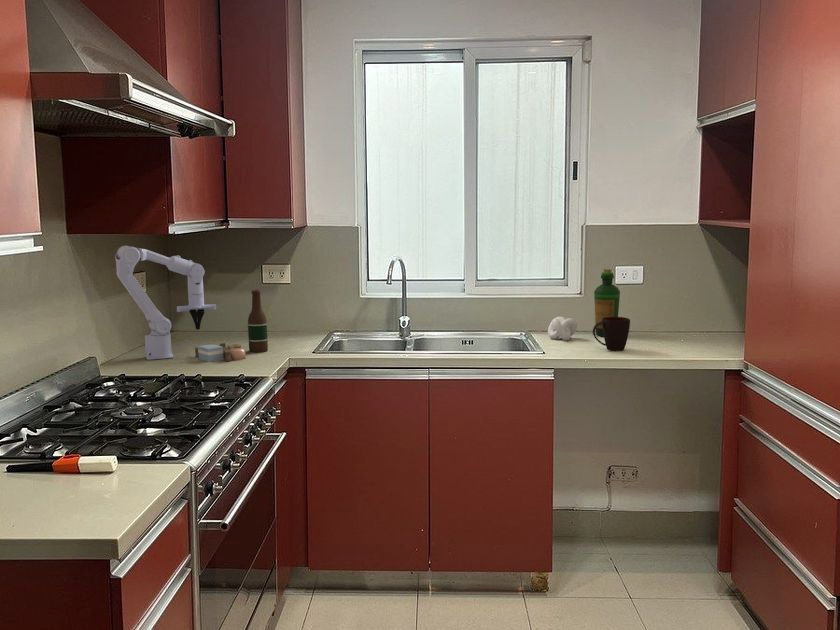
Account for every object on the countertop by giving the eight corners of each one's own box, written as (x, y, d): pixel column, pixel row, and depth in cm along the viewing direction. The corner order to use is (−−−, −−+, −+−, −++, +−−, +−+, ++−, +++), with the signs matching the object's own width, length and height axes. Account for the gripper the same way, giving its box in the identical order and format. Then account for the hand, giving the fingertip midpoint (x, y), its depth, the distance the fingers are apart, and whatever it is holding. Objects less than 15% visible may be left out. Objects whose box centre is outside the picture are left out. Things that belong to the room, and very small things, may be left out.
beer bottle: (264, 353, 311) (261, 291, 307) (245, 352, 312) (242, 291, 309) (271, 349, 318) (269, 289, 315) (253, 349, 320) (250, 289, 317)
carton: (208, 362, 295) (207, 348, 295) (198, 359, 301) (197, 346, 301) (223, 360, 299) (223, 346, 298) (213, 357, 305) (213, 344, 305)
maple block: (231, 357, 304) (230, 346, 304) (227, 355, 308) (227, 345, 307) (241, 355, 306) (240, 345, 306) (237, 354, 310) (237, 344, 309)
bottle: (588, 335, 342) (589, 269, 338) (608, 333, 346) (609, 268, 342) (603, 338, 332) (605, 271, 328) (624, 336, 337) (626, 269, 333)
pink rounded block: (230, 361, 297) (229, 351, 296) (227, 358, 302) (227, 349, 302) (246, 359, 299) (246, 350, 298) (244, 356, 305) (243, 347, 304)
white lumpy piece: (540, 339, 334) (540, 317, 333) (558, 335, 342) (558, 314, 341) (562, 342, 326) (562, 320, 324) (580, 338, 334) (580, 317, 332)
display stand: (199, 363, 292) (199, 352, 291) (195, 356, 306) (194, 345, 305) (231, 361, 295) (230, 349, 295) (225, 354, 310) (224, 342, 309)
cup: (632, 351, 303) (633, 320, 302) (597, 353, 302) (597, 321, 300) (623, 347, 313) (623, 316, 311) (588, 348, 312) (589, 317, 310)
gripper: (177, 296, 304) (179, 331, 305) (216, 294, 309) (218, 329, 311) (175, 294, 310) (177, 329, 312) (214, 292, 315) (215, 326, 317)
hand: (197, 329), depth 312 cm, fingers closed
